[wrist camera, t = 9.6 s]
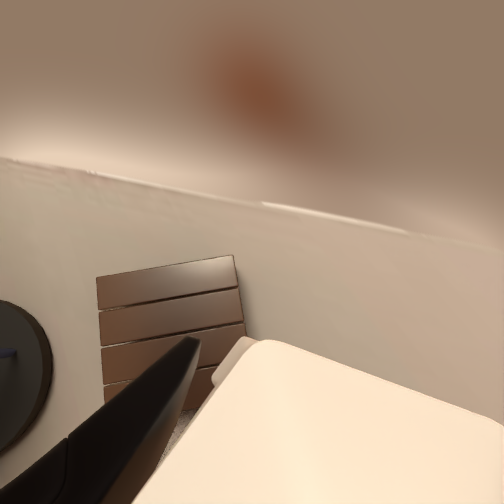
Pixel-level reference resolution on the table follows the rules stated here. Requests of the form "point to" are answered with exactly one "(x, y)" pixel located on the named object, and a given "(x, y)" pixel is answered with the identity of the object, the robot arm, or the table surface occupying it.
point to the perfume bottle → (324, 439)
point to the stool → (168, 320)
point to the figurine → (21, 371)
